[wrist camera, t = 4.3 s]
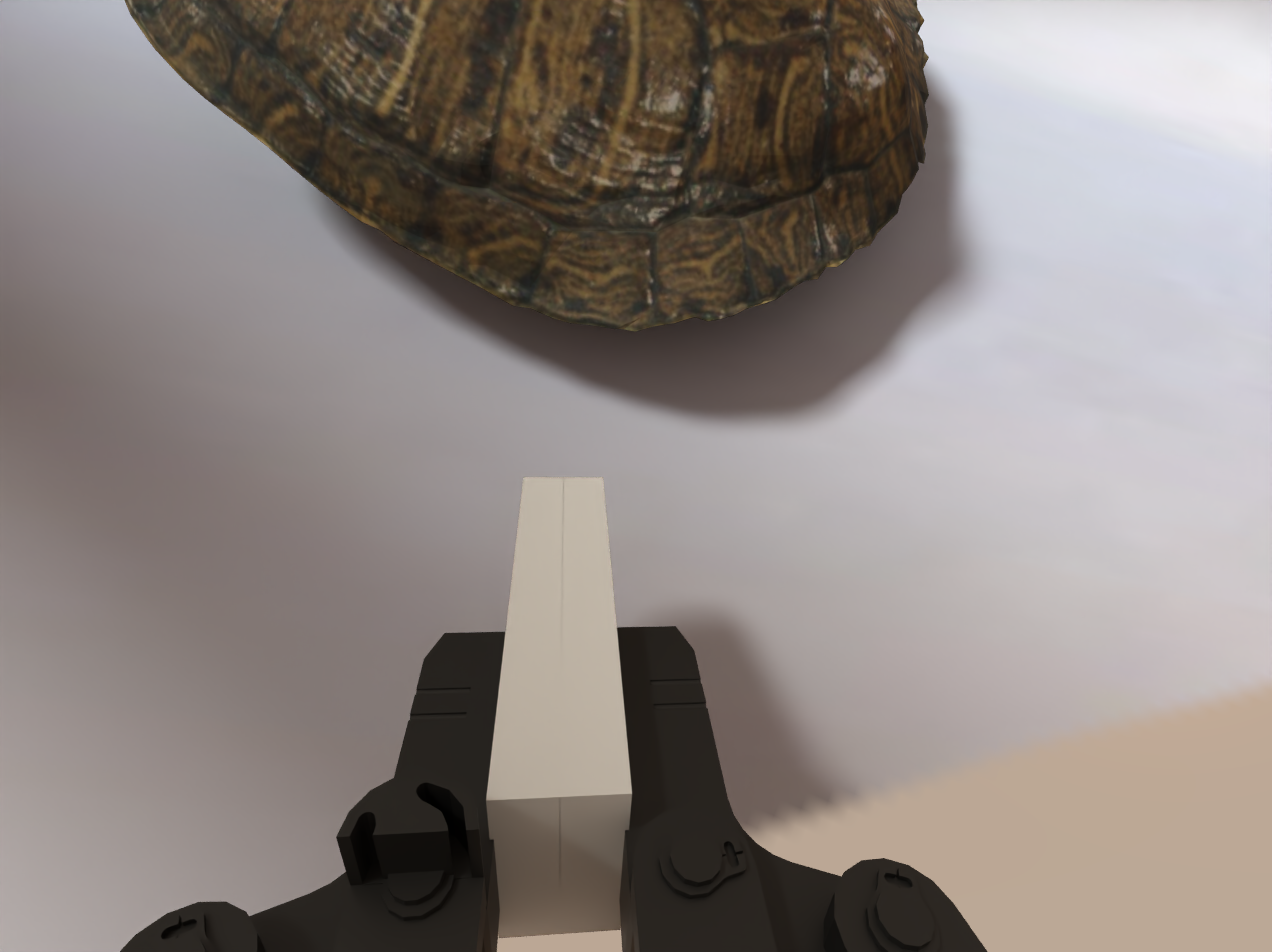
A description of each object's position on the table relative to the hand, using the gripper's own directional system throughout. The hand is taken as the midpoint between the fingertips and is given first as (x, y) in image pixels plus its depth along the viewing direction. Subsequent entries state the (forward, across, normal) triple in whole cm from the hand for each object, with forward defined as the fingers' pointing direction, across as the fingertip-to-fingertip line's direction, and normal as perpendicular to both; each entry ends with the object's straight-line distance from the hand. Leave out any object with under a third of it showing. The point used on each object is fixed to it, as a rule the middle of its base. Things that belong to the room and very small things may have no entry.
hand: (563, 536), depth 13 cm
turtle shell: (+12, 0, +7) cm, 14 cm away
